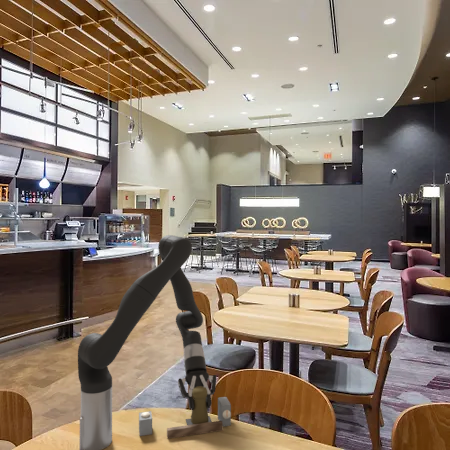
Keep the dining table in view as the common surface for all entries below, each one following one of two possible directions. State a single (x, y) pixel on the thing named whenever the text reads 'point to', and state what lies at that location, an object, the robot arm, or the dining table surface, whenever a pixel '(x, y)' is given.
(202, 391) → the olive pawn
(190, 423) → the mat
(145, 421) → the near end cabinet
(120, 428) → the dining table surface
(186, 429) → the handrail
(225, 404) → the far end cabinet
